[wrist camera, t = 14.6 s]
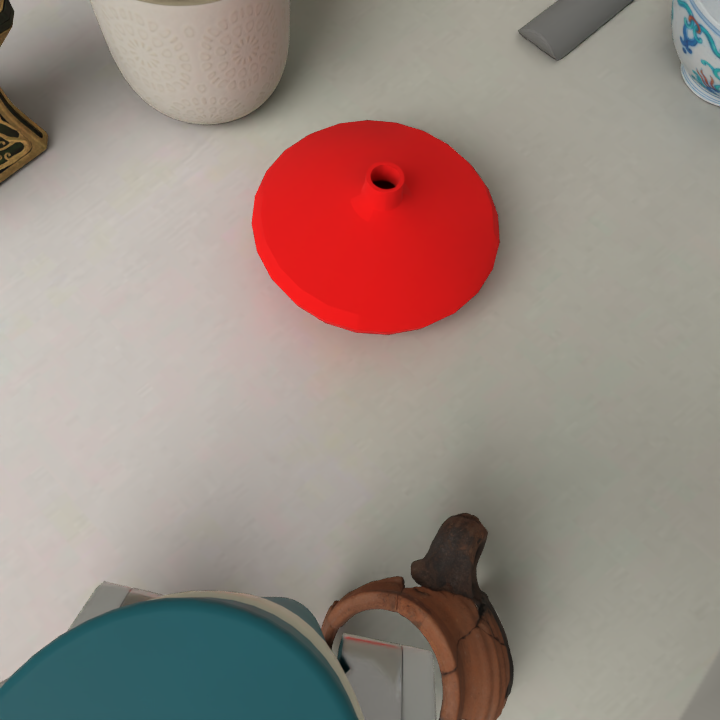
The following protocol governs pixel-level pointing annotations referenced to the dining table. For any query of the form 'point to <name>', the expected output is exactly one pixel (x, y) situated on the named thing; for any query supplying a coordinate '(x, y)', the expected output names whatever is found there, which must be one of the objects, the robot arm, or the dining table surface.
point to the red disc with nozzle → (375, 227)
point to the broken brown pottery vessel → (446, 620)
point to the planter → (198, 53)
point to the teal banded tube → (186, 665)
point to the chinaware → (698, 45)
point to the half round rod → (569, 24)
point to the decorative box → (15, 120)
